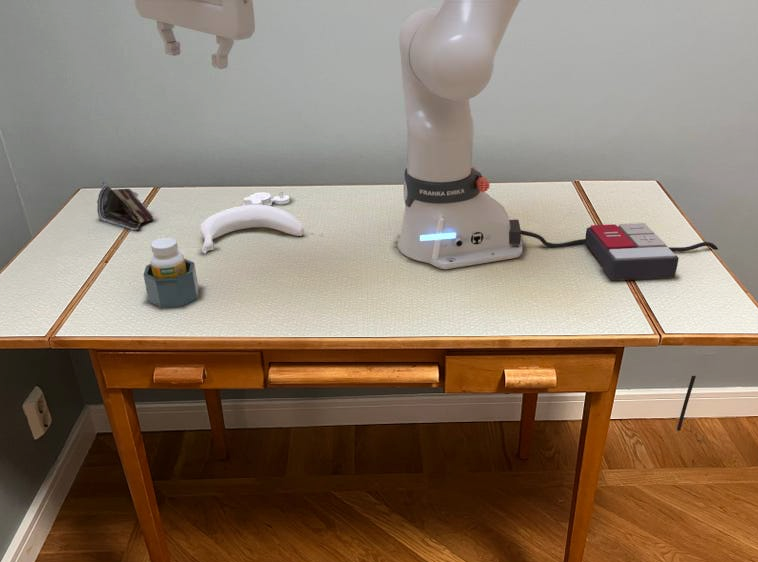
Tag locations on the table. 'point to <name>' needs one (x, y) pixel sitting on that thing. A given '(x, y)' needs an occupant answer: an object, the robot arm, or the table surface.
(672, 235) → the table surface
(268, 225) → the banana
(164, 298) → the holder
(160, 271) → the supplement bottle
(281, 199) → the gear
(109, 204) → the chocolate cake
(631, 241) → the control box
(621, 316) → the table surface
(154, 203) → the table surface
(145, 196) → the table surface
